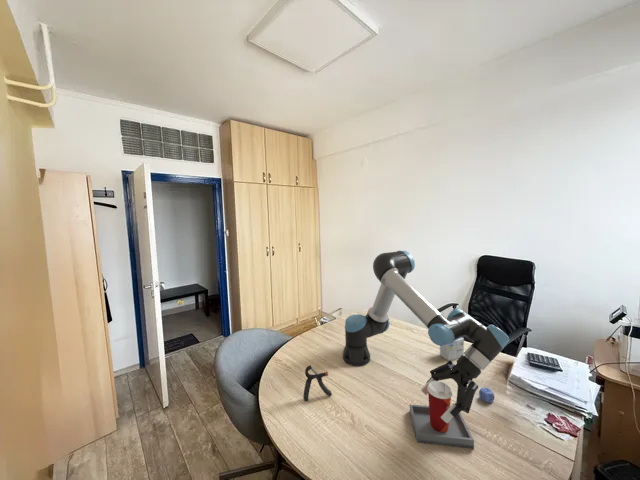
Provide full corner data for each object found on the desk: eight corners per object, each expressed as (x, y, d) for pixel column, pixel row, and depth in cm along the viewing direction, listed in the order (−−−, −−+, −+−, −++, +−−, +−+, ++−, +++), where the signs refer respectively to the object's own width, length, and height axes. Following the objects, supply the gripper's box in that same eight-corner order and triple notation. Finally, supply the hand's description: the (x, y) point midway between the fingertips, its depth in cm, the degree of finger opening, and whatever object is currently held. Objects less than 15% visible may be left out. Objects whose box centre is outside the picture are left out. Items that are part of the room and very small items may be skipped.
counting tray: (417, 442, 86) (417, 434, 86) (409, 411, 100) (409, 404, 100) (473, 448, 83) (474, 440, 83) (458, 415, 97) (458, 408, 97)
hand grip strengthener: (332, 397, 109) (331, 365, 108) (303, 402, 107) (302, 368, 106) (331, 394, 112) (330, 362, 110) (303, 398, 110) (301, 365, 108)
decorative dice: (494, 401, 104) (494, 392, 104) (487, 403, 103) (487, 394, 102) (485, 395, 108) (485, 386, 107) (478, 397, 106) (478, 388, 106)
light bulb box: (454, 351, 143) (454, 333, 142) (464, 357, 137) (464, 338, 136) (439, 355, 140) (439, 336, 139) (448, 361, 133) (449, 342, 132)
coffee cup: (455, 437, 87) (455, 396, 85) (429, 433, 88) (429, 393, 87) (447, 418, 95) (448, 380, 94) (424, 415, 97) (424, 378, 95)
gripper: (507, 392, 79) (462, 441, 79) (457, 350, 104) (422, 388, 104) (492, 377, 78) (446, 427, 78) (445, 339, 103) (410, 377, 103)
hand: (432, 405), depth 91 cm, fingers open, 13 cm apart
